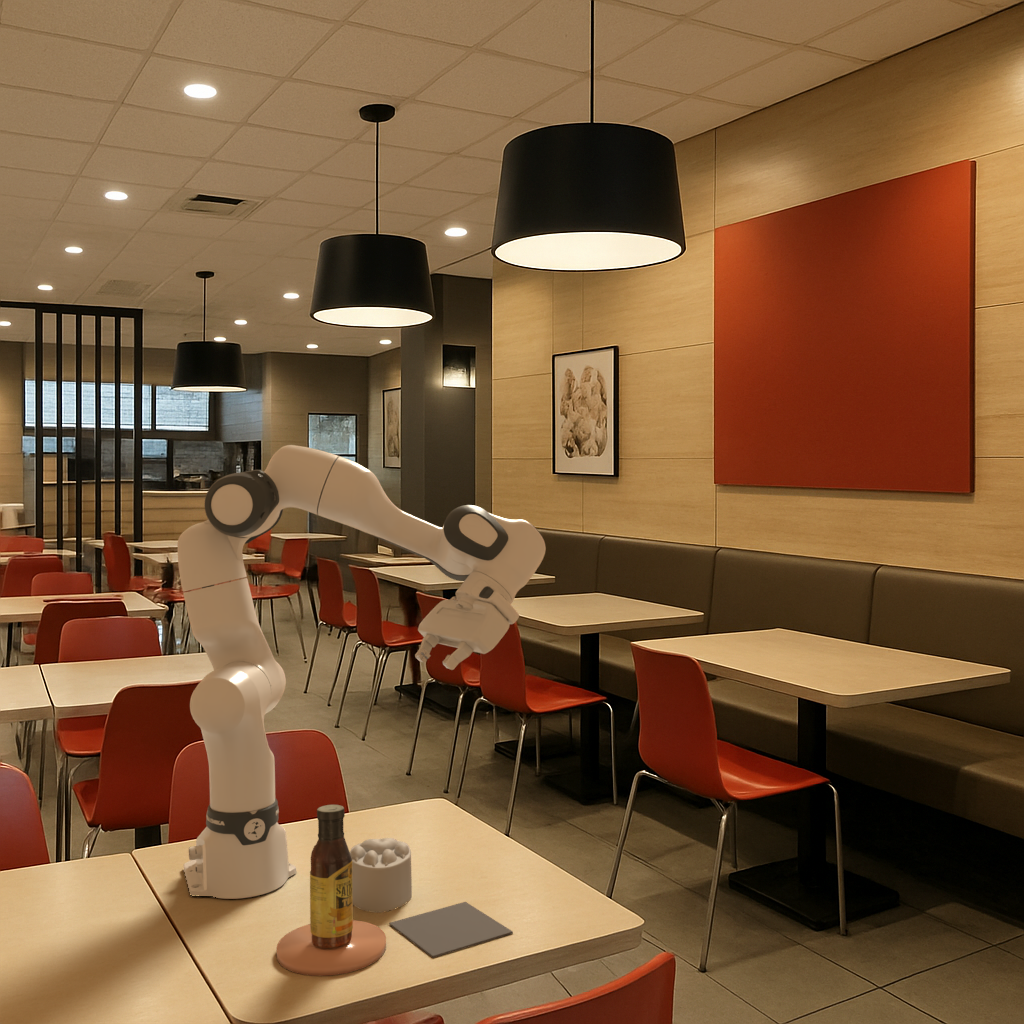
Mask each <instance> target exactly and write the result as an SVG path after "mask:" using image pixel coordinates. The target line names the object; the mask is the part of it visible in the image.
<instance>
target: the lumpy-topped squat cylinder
mask: <svg viewBox="0 0 1024 1024" xmlns="http://www.w3.org/2000/svg"><path fill="white" fill-rule="evenodd" d="M349 852H350V855H351V858H352V880H353V906H354V907H355V908H357V909H359V910H361V911H365V912H369V911H370V913H385V912H384V911H387V912H390V911H389V910H391V911H394V910H396V909H395V908H397V907H399V908H401V907H403V906H404V905H406V904H407V903H408V902H410V900H412V895H413V890H412V889H413V886H412V884H413V883H412V881H413V880H412V879H413V878H412V851H411V847H410V846H409V844H408V843H407V842H405V841H402V840H397V839H395V838H394V837H385V838H368V839H365V840H364V841H362V842H360V843H358V844H355V845H354V846H352V847H351V848H350V850H349ZM407 901H408V902H407ZM406 902H407V903H406ZM405 903H406V904H405ZM403 904H404V905H403ZM402 905H403V906H402ZM400 906H401V907H400ZM393 909H394V910H393ZM397 909H398V908H397Z"/></svg>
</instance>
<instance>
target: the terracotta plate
mask: <svg viewBox="0 0 1024 1024" xmlns="http://www.w3.org/2000/svg"><path fill="white" fill-rule="evenodd" d="M386 948H387V936H386V934H385V931H383V929H381V927H379V926H378V925H375V924H372V923H370V922H367V921H362V920H355V919H353V930H352V937H351V941H350V942H349V943H348V944H346V945H344V946H341V947H337V948H333V949H325V948H318V947H316V946H314V945H313V943H312V934H311V931H310V923H309V924H305V925H302V926H300V927H297V928H295V929H292V930H291V931H289V932H288V933H285V935H283V937H281V938H280V940H279V941H278V943H277V945H276V960H277V963H280V964H279V965H280V966H281V967H282V968H283V967H284V968H283V969H285V968H286V970H287V971H289V970H290V971H289V972H291V971H292V973H294V972H295V973H294V974H299V975H304V976H311V977H312V976H314V977H315V976H316V977H326V976H336V975H337V976H338V975H344V974H348V973H351V972H356V971H359V970H362V969H364V968H366V967H369V966H371V965H373V964H374V963H375V962H377V961H378V960H379V959H381V958H382V957H383V955H384V954H385V952H386V950H387V949H386Z"/></svg>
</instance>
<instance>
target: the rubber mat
mask: <svg viewBox="0 0 1024 1024" xmlns="http://www.w3.org/2000/svg"><path fill="white" fill-rule="evenodd" d="M389 926H390V927H391V928H393V929H394V930H395V931H397V932H398V933H399V934H401V935H402V936H404V937H405V938H406V939H408V940H409V941H410V942H411V943H413V944H414V945H415V946H417V947H418V948H419V949H420V950H421V951H423V952H425V953H426V954H427V955H428V956H430V957H431V958H433V959H434V958H438V957H440V956H444V955H449V954H450V953H454V952H456V951H461V950H464V949H467V948H470V947H473V946H476V945H480V944H483V943H487V942H490V941H492V940H496V939H499V938H503V937H505V936H509V935H512V934H513V933H514V932H513V930H511V929H510V928H508V927H506V926H505V925H503V924H502V923H500V922H498V921H497V920H496V919H494V918H492V917H490V916H489V915H487V914H485V913H484V912H483V911H481V910H479V909H478V908H476V907H475V906H473V905H472V904H470V903H469V902H468V901H463V902H459V903H455V904H452V905H448V906H445V907H440V908H438V909H434V910H430V911H426V912H423V913H419V914H416V915H411V916H409V917H406V918H402V919H398V920H395V921H390V922H389Z"/></svg>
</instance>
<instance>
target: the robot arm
mask: <svg viewBox="0 0 1024 1024" xmlns="http://www.w3.org/2000/svg"><path fill="white" fill-rule="evenodd" d="M288 508H294V509H300V510H302V511H305V512H309V513H311V514H314V515H316V516H319V517H322V518H325V519H328V520H330V521H334V522H336V523H339V524H342V525H345V526H348V527H350V528H354V529H356V530H359V531H361V532H363V533H365V534H369V535H371V536H373V537H375V538H377V539H379V540H381V541H384V542H386V543H387V544H391V545H393V546H395V547H398V548H400V549H401V550H402V549H403V550H404V551H407V552H410V553H412V554H414V555H416V556H418V557H421V558H423V559H425V560H427V561H429V562H430V563H431V564H432V565H433V566H435V567H436V568H437V569H438V570H439V571H440V572H441V573H442V574H444V575H445V576H446V577H448V578H450V579H452V580H455V581H458V582H462V584H461V585H460V586H459V588H458V589H457V590H456V591H455V596H452V597H451V598H450V599H443V600H441V601H439V603H437V604H436V605H435V606H433V607H434V608H432V609H431V610H430V611H429V613H428V614H427V615H426V616H425V617H424V618H423V619H422V620H421V622H420V623H419V625H418V627H417V631H418V632H419V634H420V635H421V636H422V637H423V638H422V641H421V643H420V647H419V649H417V652H416V653H415V654H414V657H415V659H417V660H418V661H419V662H421V663H427V661H428V659H430V657H431V656H432V655H431V654H430V653H431V651H432V650H433V649H432V648H435V647H436V646H437V645H438V644H439V645H443V646H447V647H452V648H456V649H455V651H453V652H452V653H451V654H447V655H446V656H445V659H443V660H442V665H443V666H444V667H445V668H446V669H449V670H451V671H453V670H455V668H456V667H457V666H458V665H459V664H460V663H461V662H463V661H464V660H466V659H467V658H469V657H470V656H471V655H472V653H473V652H474V653H478V654H482V655H486V654H487V653H489V652H491V651H492V650H493V649H494V648H495V647H496V646H497V645H498V644H499V643H500V641H501V639H503V637H504V636H505V634H506V633H507V632H508V630H509V628H510V625H513V624H515V623H516V622H517V621H518V620H519V617H520V614H519V613H518V611H517V610H516V609H515V607H514V606H512V604H513V602H514V600H515V597H516V595H517V594H518V592H519V591H520V590H521V589H522V588H524V587H525V586H526V585H527V584H528V582H529V581H530V580H531V579H532V577H533V576H534V574H535V573H536V572H537V569H538V568H539V567H540V565H541V563H542V561H543V560H544V557H545V555H546V549H547V548H546V542H545V540H544V538H543V535H542V534H541V532H540V531H539V529H537V528H536V527H535V526H534V525H533V524H532V523H531V522H529V521H527V520H526V519H520V518H519V519H510V518H504V517H503V516H502V517H501V516H498V515H495V514H493V513H490V512H489V511H487V510H485V508H483V507H480V506H477V505H472V504H466V505H461V506H458V507H456V508H454V509H453V510H451V511H450V512H449V513H448V514H447V516H446V518H445V520H444V522H443V526H442V527H441V526H438V525H436V524H433V523H430V522H428V521H426V520H424V519H421V518H419V517H417V516H414V515H412V514H410V513H408V512H406V511H404V510H402V509H400V508H399V507H397V506H396V505H395V503H393V502H392V500H390V498H389V497H388V495H387V494H386V491H384V488H383V487H382V485H381V482H380V481H379V479H378V477H377V475H375V473H374V472H373V471H371V470H370V469H368V468H366V467H364V466H363V465H361V464H359V463H358V462H356V461H353V460H351V459H349V458H345V457H343V456H340V455H336V454H334V453H331V452H327V451H324V450H321V449H317V448H313V447H308V446H307V447H306V446H304V445H303V446H300V445H297V444H296V445H295V444H287V445H283V446H281V447H280V448H278V449H277V450H276V451H275V452H274V453H273V455H272V456H271V458H270V460H269V462H268V464H267V466H266V468H265V470H264V471H263V470H261V469H253V470H247V471H242V472H234V473H230V474H227V475H224V476H221V477H220V478H218V479H217V480H216V481H215V482H214V483H212V484H211V485H210V487H209V489H208V490H207V493H206V494H205V498H204V512H205V516H206V518H207V520H204V521H202V522H198V523H196V524H192V525H190V526H189V527H188V528H186V529H185V530H184V531H183V532H182V533H181V534H180V535H179V537H178V539H177V565H178V573H179V579H180V580H179V581H180V584H181V589H182V594H183V599H184V602H185V606H186V610H187V615H188V619H189V623H190V628H191V632H192V635H193V637H194V639H195V640H196V641H197V642H198V643H199V644H200V645H201V647H202V648H203V649H204V652H205V654H206V655H207V657H208V660H209V661H210V664H211V666H212V669H213V670H211V672H209V673H207V674H206V675H205V676H204V677H203V678H202V679H201V681H200V682H199V683H198V684H197V685H196V687H195V688H194V689H193V692H192V694H191V696H190V700H189V711H190V714H191V717H192V720H194V722H195V724H196V725H197V726H198V727H199V728H200V730H201V734H202V739H203V743H204V746H205V750H206V754H207V761H208V775H209V804H208V806H207V811H206V816H205V818H206V820H205V825H206V827H205V828H204V829H203V830H202V831H201V833H200V834H199V835H198V836H197V837H196V840H195V845H193V846H190V847H188V858H189V860H188V861H186V862H185V863H183V868H184V870H183V873H184V872H185V874H184V877H185V876H186V878H185V881H186V880H187V882H186V885H187V884H188V887H187V889H188V888H189V891H188V893H189V892H190V894H191V895H199V896H213V897H212V898H215V897H216V899H217V898H218V899H227V900H229V899H233V900H234V899H246V898H252V897H257V896H260V895H261V896H262V895H265V894H268V893H270V892H274V891H275V890H277V889H279V888H281V887H283V885H285V883H286V882H287V880H288V879H289V878H290V877H292V876H293V875H295V874H297V866H296V865H295V864H292V863H289V862H290V861H289V851H288V850H289V849H288V839H287V831H286V829H285V827H284V826H282V825H281V824H279V822H278V821H279V813H280V811H279V805H278V804H279V801H278V799H277V798H276V771H275V770H276V768H275V767H276V766H275V765H276V763H275V756H274V753H273V751H272V750H271V748H270V746H269V742H268V739H267V735H266V730H265V721H264V720H265V715H267V714H268V713H270V712H271V711H272V710H273V709H275V707H276V706H277V705H278V703H279V702H280V701H281V699H282V697H283V695H284V692H285V690H286V685H287V680H286V674H285V670H284V669H283V667H282V665H280V663H279V662H277V660H276V659H275V656H274V655H273V652H272V650H271V648H270V646H269V643H268V641H267V639H266V636H265V635H264V632H263V631H262V628H261V625H260V623H259V619H258V616H257V613H256V609H255V604H254V600H253V597H252V592H251V587H250V584H249V580H248V578H247V577H248V576H247V572H246V571H247V570H246V567H245V564H244V557H243V550H244V546H245V545H246V544H249V543H251V542H252V541H254V540H255V539H257V538H258V537H259V538H260V537H261V536H262V535H265V534H267V533H268V532H270V531H271V530H272V529H273V528H274V527H276V525H277V524H278V523H279V522H280V520H281V517H283V516H282V515H283V511H284V509H288Z"/></svg>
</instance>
